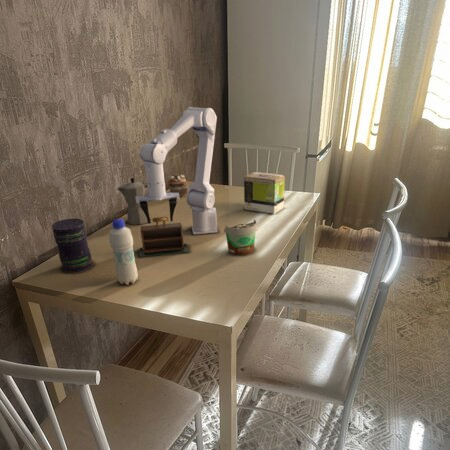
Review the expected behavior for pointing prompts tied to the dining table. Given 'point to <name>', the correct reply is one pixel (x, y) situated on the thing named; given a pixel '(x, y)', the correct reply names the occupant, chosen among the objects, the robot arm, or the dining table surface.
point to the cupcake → (178, 185)
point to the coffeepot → (134, 201)
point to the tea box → (264, 192)
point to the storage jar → (72, 245)
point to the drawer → (162, 236)
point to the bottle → (123, 252)
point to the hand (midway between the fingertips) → (160, 221)
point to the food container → (241, 238)
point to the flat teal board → (163, 252)
